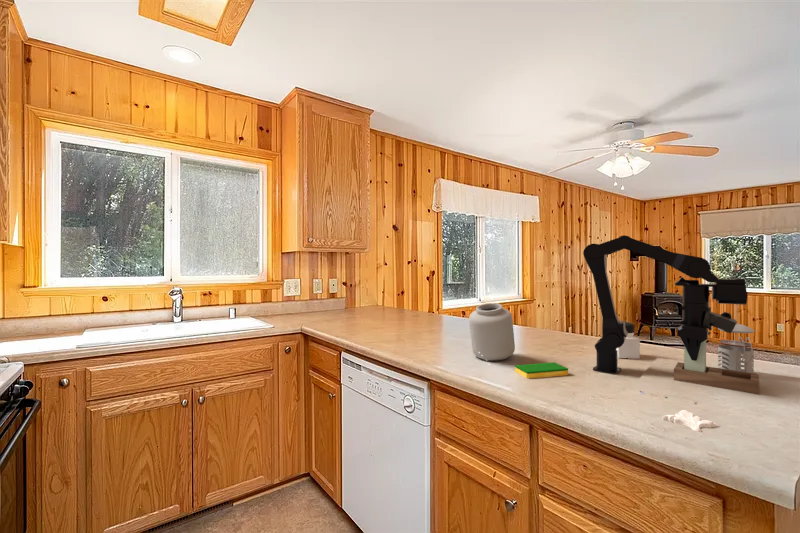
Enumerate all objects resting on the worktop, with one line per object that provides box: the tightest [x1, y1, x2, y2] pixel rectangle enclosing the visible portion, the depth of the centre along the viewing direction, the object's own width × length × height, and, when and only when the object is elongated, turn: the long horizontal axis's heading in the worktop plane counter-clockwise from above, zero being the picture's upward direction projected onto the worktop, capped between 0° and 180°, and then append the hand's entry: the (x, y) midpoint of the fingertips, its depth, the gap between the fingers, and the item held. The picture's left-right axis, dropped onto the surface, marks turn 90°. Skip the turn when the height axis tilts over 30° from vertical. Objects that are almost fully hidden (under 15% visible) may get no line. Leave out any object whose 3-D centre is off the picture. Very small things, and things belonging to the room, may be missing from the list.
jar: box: [468, 287, 516, 365], centre depth 131 cm, size 19×15×25 cm
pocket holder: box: [673, 361, 760, 396], centre depth 101 cm, size 9×17×4 cm, turn 47°
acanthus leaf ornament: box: [661, 409, 720, 433], centre depth 79 cm, size 8×7×2 cm
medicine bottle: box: [616, 321, 641, 360], centre depth 132 cm, size 7×7×12 cm
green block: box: [683, 340, 707, 373], centre depth 103 cm, size 4×4×10 cm
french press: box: [717, 304, 755, 373], centre depth 108 cm, size 10×12×25 cm
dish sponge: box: [514, 361, 569, 379], centre depth 114 cm, size 7×14×2 cm, turn 102°
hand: (695, 358), depth 103 cm, fingers closed on green block, 4 cm apart
